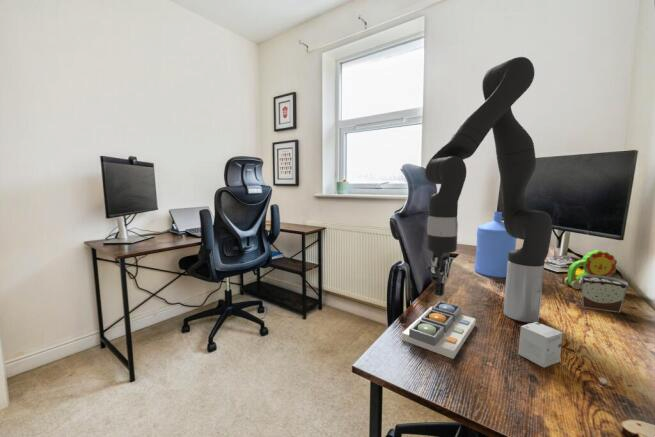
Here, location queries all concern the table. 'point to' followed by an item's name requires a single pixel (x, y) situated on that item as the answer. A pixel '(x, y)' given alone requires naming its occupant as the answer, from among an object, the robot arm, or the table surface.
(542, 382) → the table surface
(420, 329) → the sage green button
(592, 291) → the food container
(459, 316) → the button panel
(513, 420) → the table surface
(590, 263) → the toy lion
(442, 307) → the slate blue button
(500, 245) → the water jug
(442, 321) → the orange button
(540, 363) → the skincare box
